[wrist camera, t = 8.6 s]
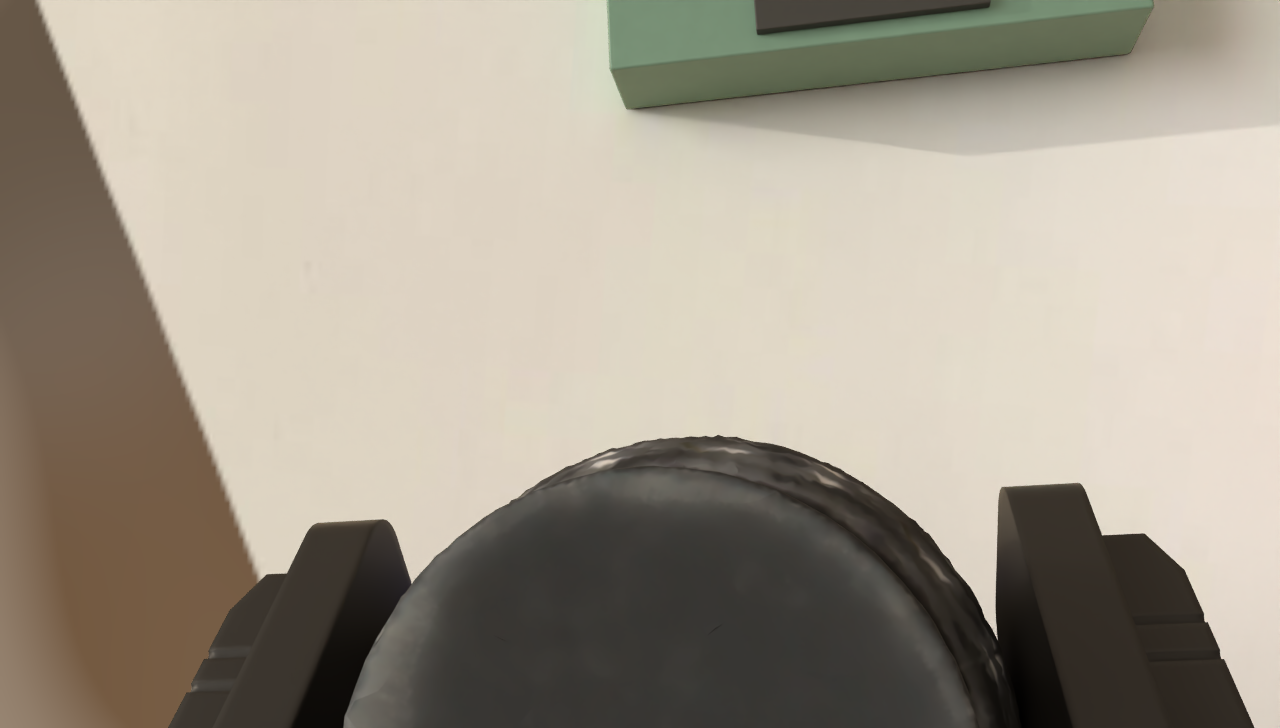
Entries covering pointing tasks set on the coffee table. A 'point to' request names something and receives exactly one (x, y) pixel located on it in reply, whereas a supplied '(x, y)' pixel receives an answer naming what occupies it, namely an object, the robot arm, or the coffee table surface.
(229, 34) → the coffee table surface
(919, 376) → the coffee table surface
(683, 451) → the pill bottle
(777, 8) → the kitchen scale
